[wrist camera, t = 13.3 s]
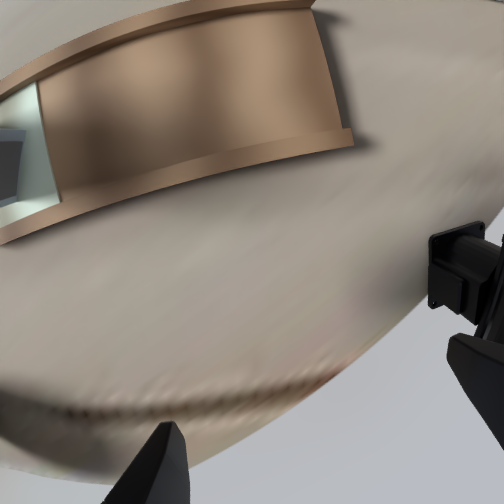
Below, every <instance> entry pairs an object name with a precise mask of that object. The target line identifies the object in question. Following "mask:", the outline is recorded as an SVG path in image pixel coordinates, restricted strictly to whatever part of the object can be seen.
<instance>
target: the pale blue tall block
mask: <svg viewBox="0 0 504 504" xmlns="http://www.w3.org/2000/svg"><path fill="white" fill-rule="evenodd" d="M25 135H26V130H17V129H2V128H0V208H1V207H4V206H7V205H10V204H13V203H15V202H17V197H18V185H19V176H20V167H21V160H22V153H23V146H24V140H25Z"/></svg>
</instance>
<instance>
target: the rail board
mask: <svg viewBox="0 0 504 504" xmlns="http://www.w3.org/2000/svg"><path fill="white" fill-rule="evenodd" d="M314 2H315V0H190V1H185V2H181V3H177V4H173V5H169V6H165V7H162V8H158V9H155V10H151V11H148V12H145V13H142V14H138V15H135V16H132V17H129V18H126V19H124V20H121V21H118V22H115V23H113V24H110V25H107V26H105V27H102V28H100V29H97V30H95V31H92V32H90V33H88V34H85V35H83V36H81V37H79V38H76V39H74V40H72V41H70V42H68V43H66V44H64V45H62V46H59V47H57V48H55V49H54V50H52V51H50V52H48V53H46V54H44V55H42V56H40V57H38V58H37V59H35V60H33V61H31V62H30V63H28V64H26V65H24V66H23V67H21V68H19V69H18V70H16V71H14V72H13V73H11V74H10V75H8V76H6V77H5V78H3V79H2V80H0V128H2V129H17V130H26V135H25V140H24V146H23V153H22V160H21V167H20V176H19V185H18V197H17V202H15V203H13V204H10V205H7V206H4V207H1V208H0V245H2V244H4V243H7V242H9V241H11V240H14V239H16V238H19V237H21V236H24V235H26V234H29V233H31V232H34V231H36V230H39V229H41V228H44V227H47V226H49V225H52V224H55V223H57V222H60V221H63V220H65V219H68V218H71V217H74V216H77V215H80V214H82V213H85V212H88V211H91V210H94V209H97V208H100V207H103V206H106V205H109V204H112V203H115V202H118V201H121V200H125V199H128V198H131V197H134V196H138V195H141V194H144V193H147V192H151V191H154V190H158V189H161V188H165V187H168V186H172V185H175V184H179V183H183V182H186V181H190V180H194V179H197V178H201V177H205V176H209V175H213V174H217V173H221V172H225V171H229V170H233V169H238V168H242V167H246V166H251V165H255V164H259V163H264V162H269V161H273V160H278V159H283V158H288V157H293V156H298V155H303V154H308V153H313V152H319V151H324V150H330V149H336V148H342V147H348V146H354V142H353V137H352V131H351V128H345V129H342V124H341V119H340V115H339V110H338V106H337V101H336V97H335V93H334V88H333V84H332V80H331V76H330V72H329V69H328V65H327V61H326V57H325V54H324V50H323V47H322V43H321V40H320V36H319V33H318V29H317V26H316V23H315V20H314V17H313V13H312V10H311V6H312V4H313V3H314Z"/></svg>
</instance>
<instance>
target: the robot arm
mask: <svg viewBox="0 0 504 504" xmlns="http://www.w3.org/2000/svg"><path fill="white" fill-rule="evenodd" d="M484 236H485V224H484V223H483V222H481V221H477V222H474V223H470V224H467V225H464V226H461V227H458V228H454V229H451V230H448V231H445V232H441V233H438V234H435V235H432V236H431V237H430V238H429V242H428V244H429V266H428V306H429V307H430V308H431V309H435V308H438V307H440V306H443V305H445V306H446V307H448V308H449V309H450V310H452V311H453V312H454V313H456V314H457V315H459V314H461V315H462V316H464V317H465V318H466V319H467V320H469V321H470V322H471V323H473V324H474V325H475V326H476V325H478V326H477V329H476V332H475V334H474V336H470V335H467V334H463V333H458V334H456V335H454V336H452V337H450V339H449V343H448V349H447V361H448V364H449V365H450V367H451V369H452V370H453V372H454V374H455V376H456V377H457V379H458V381H459V383H460V385H461V386H462V388H463V390H464V392H465V393H466V395H467V396H468V398H469V399H470V401H471V402H472V404H473V405H474V407H475V408H476V409H477V411H478V412H479V414H480V415H481V417H482V418H483V420H484V421H485V423H486V424H487V426H488V427H489V429H490V430H491V431H492V433H493V435H494V436H495V438H496V439H497V441H498V442H499V444H500V445H501V447H502V449H503V450H504V234H503V237H502V242H503V243H502V247H499V246H497V245H495V244H493V243H491V242H488V241H486V240H484V239H485V237H484ZM435 240H436V241H435ZM434 241H435V243H434ZM433 302H434V303H433ZM101 504H190V480H189V471H188V462H187V453H186V443H185V439H184V436H183V435H182V433H181V431H180V430H179V428H178V426H177V425H176V423H175V422H174V421H165V422H161V423H160V424H159V425H158V426H157V428H156V429H155V430H154V432H153V433H152V435H151V436H150V437H149V439H148V440H147V442H146V443H145V444H144V446H143V447H142V448H141V450H140V451H139V453H138V454H137V455H136V457H135V458H134V460H133V461H132V462H131V464H130V465H129V466H128V468H127V469H126V471H125V472H124V473H123V475H122V476H121V477H120V479H119V480H118V481H117V483H116V484H115V486H114V487H113V489H112V490H111V491H110V492H109V494H108V495H107V496H106V498H105V499H104V501H103V502H102V503H101Z"/></svg>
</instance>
